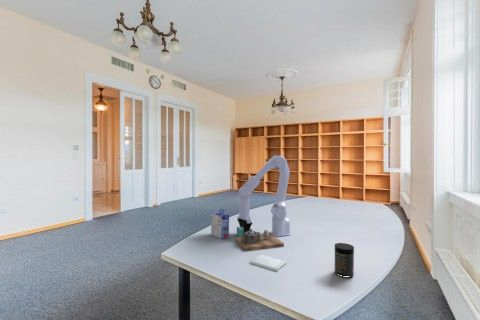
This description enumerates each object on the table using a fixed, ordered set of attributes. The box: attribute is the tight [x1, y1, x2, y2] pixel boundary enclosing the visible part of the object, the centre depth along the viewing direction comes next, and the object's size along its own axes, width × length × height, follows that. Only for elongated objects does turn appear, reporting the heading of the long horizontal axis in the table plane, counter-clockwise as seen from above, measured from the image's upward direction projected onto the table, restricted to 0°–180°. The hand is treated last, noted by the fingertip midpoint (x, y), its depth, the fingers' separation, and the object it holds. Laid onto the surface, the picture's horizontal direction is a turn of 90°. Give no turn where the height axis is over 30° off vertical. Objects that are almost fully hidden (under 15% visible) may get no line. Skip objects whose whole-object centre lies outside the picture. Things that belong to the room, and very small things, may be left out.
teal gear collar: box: [236, 226, 254, 237], centre depth 134 cm, size 7×7×4 cm
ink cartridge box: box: [210, 208, 230, 240], centre depth 133 cm, size 10×6×14 cm, turn 41°
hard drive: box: [249, 254, 288, 272], centre depth 99 cm, size 2×8×12 cm
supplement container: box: [333, 242, 355, 277], centre depth 91 cm, size 7×7×10 cm
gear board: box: [235, 229, 285, 252], centre depth 122 cm, size 20×15×6 cm
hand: (244, 233), depth 134 cm, fingers closed on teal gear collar, 6 cm apart
